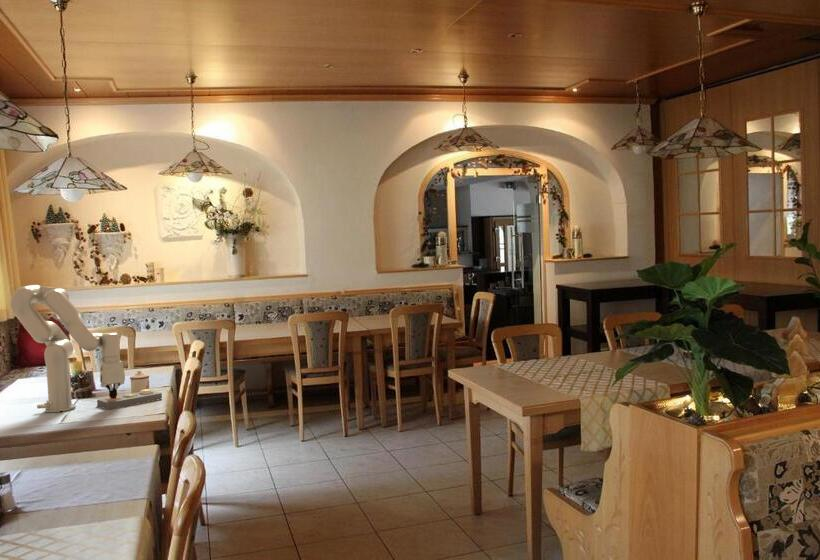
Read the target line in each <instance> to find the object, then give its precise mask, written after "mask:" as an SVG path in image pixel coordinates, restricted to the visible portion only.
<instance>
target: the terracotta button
mask: <svg viewBox="0 0 820 560" xmlns="http://www.w3.org/2000/svg"><path fill="white" fill-rule="evenodd" d="M107 398H108V399H107V401H114V400H119V397H116V398H114V399H112V398H109V397H107Z"/></svg>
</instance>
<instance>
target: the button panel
mask: <svg viewBox="0 0 820 560" xmlns="http://www.w3.org/2000/svg"><path fill="white" fill-rule="evenodd" d="M151 393H152V394H146V395H141V393H140V392H136V393H131V392H130V394H135V395H136V397H130V398H125V397H124V395H127V394H128V393H125V394H120V395H117V396H116V397H119V400H114V401H107V399H108V398H110V396H109V397H105V398H104V397H103V398H98V399H97V400H96V403H97V405H96V406H97V407H100V408H101V409H102V408H103V409H104V410H108V411H109V410H112V409H113V408H114V409H118V407H119V408H122V407H123V406H124V407H128V406H135V405H139V404H138V403H140V404H144V403H143V402H145V403H148V401H150V402H153V401H152V400H155V401H158V400H157V399H160V400H162V399H163V396H162V394H163V393H162V392H159V391H155V390H152V389H151ZM161 398H162V399H161ZM134 404H135V405H134Z"/></svg>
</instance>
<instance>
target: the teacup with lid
mask: <svg viewBox="0 0 820 560" xmlns="http://www.w3.org/2000/svg"><path fill="white" fill-rule="evenodd" d="M129 379H130V394H131V393H136V392H140V391H141V390H144V389H150V375H149V374H148V373H145V372H142V370H137V372H135V373H134V374H133V375H130V377H129Z"/></svg>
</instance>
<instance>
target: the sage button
mask: <svg viewBox="0 0 820 560" xmlns="http://www.w3.org/2000/svg"><path fill="white" fill-rule="evenodd" d="M126 394H127V395H125V394H123V395H124V397H125V398H130V397H136V395H135V394H131V393H126Z"/></svg>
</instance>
